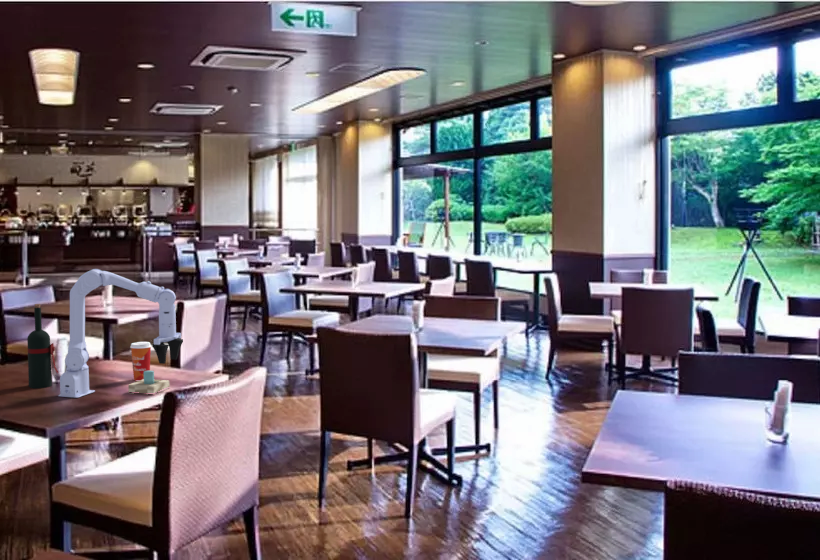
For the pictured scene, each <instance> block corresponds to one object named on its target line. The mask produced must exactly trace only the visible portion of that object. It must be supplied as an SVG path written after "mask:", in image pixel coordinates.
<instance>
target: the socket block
mask: <svg viewBox="0 0 820 560" xmlns="http://www.w3.org/2000/svg"><path fill="white" fill-rule="evenodd" d="M167 387H171V386H170V380H168V379H155V378H154V384H144V379H143V380H140V381H134V382H132V383H129V384H128V387H127V388H128V393H129V392H139V393H155V392H158V391H160V390H162V389H164V388H167Z"/></svg>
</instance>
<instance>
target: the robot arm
mask: <svg viewBox="0 0 820 560" xmlns="http://www.w3.org/2000/svg"><path fill="white" fill-rule="evenodd" d="M112 285H113V286H116V287H119V288H122V289H124V290H125V289H126V290H129V291H131V292H132V291H133V292H135V293H136V294H135V295H136V296H137V297H139V298H140V299H144V300H146V301H149V302H153V303H158V305H159V306H158V307H159V311H158V336H157V337H156V338H153V343H152V344H151V348H153V350H154V352H155V353H156V357H157V361H158V363H159V364H162V365H163V364H166V362H167V352H168V349H169V357H170V360H176V361H177V360H178V357H179V352H180V349H181V347H182V345H183V342H184V339H182V333H181V332H177V324H176V323H177V321H176V318H177V316H176V304H175V302H176V299H177V297H176V293H175V292H174V291H173V290H171V289H170V288H165V287H164V286H158V285H155V284H152V282H151V281H150V280H148V281H142V282H136V281H133V280H132V279H129V278H126V277H124V276H121V275H118V274H116V273H113V272H110V271H107V270H101V269H99V268H93V269H90V270H89V271H86V272H85V273H83V274H82V275H80V276H79V278H78V279H77V281H76V282H75V283H74V285H72V287H71V288H70V290H69V343H68V348H67V354H66V356H65V359H64V363H65V366H66V367H65V372H63V373H62V374H61V375H60V377H59V387H60V388H59V390H60V391H59V394H58V395H57V396H58V397H65V398H75V399H76V398H81V397H83V396H86V395H87V396H88V395H89V394H92V393H95V392H96V390H94V389H90V374H89V372H90V370H89V368H90V367H89V365H87V362H88V361H89V358H90V355H89V352H88V350H87V344H86V296H87V295H88V294H90V293H91V292H92V291H93V290H95V289H97V288H99V287H106V286H112ZM166 343H167V344H166Z"/></svg>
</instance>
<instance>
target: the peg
mask: <svg viewBox="0 0 820 560" xmlns="http://www.w3.org/2000/svg"><path fill="white" fill-rule="evenodd" d="M154 379H155V371H154V370H150V371H144V384H154Z"/></svg>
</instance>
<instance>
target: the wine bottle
mask: <svg viewBox="0 0 820 560" xmlns="http://www.w3.org/2000/svg"><path fill="white" fill-rule="evenodd" d="M33 310H34V312H33V313H34V330H32V331H31V332H30V333H29V334H28V336H27V338H26V339H27V371H28V374H27V375H28V388H29V387H30V388H29V389H47V388H49V387H52V386H53V378H52V377H53V375H52V363H53V368H54V370H55V372H56V373H57V374H59V370H58V369H57V367H56V361H55V356H54V354H55V349H56V348H55V345H54V342H53V343H52V342H51V337H50V334H49V333H48V332H47V331H45V330H44V329H42V328H43V327H42V325H43V323H42V307H41V303H35V304H34V309H33Z"/></svg>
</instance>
